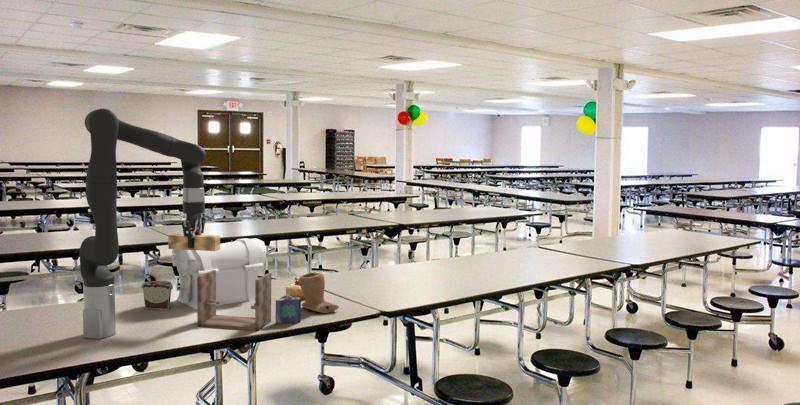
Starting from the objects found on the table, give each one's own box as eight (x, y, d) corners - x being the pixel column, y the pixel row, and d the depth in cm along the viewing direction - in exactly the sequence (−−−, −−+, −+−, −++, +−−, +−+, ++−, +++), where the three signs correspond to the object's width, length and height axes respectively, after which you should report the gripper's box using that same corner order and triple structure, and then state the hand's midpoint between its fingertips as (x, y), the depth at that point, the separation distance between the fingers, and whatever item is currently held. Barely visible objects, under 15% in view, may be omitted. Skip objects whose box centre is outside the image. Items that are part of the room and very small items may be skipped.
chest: (245, 289, 274) (245, 234, 272) (271, 299, 258) (271, 241, 255) (168, 301, 250) (167, 241, 248) (191, 312, 234) (191, 248, 232)
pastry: (304, 293, 270) (305, 273, 270) (318, 298, 261) (319, 278, 261) (280, 296, 263) (280, 276, 262) (294, 301, 253) (294, 280, 253)
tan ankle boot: (293, 308, 243) (293, 271, 242) (318, 304, 251) (319, 268, 249) (313, 316, 232) (314, 278, 230) (339, 312, 239) (340, 274, 238)
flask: (275, 324, 220) (276, 295, 220) (274, 322, 223) (275, 293, 222) (301, 322, 223) (301, 294, 222) (300, 320, 226) (300, 292, 225)
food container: (178, 305, 243) (178, 281, 242) (171, 309, 237) (171, 284, 236) (149, 304, 244) (149, 279, 244) (141, 308, 238) (141, 283, 237)
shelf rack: (258, 330, 212) (258, 280, 211) (197, 326, 216) (197, 276, 214) (271, 321, 224) (271, 273, 223) (213, 317, 228) (212, 270, 226)
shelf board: (168, 248, 221) (168, 235, 220) (173, 247, 225) (173, 233, 224) (215, 251, 218) (215, 237, 218) (220, 249, 222) (220, 235, 222)
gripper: (193, 198, 227) (193, 243, 229) (174, 201, 213) (174, 249, 215) (212, 198, 226) (212, 244, 228) (194, 202, 212) (194, 250, 214)
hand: (194, 246), depth 221 cm, fingers closed on shelf board, 4 cm apart
